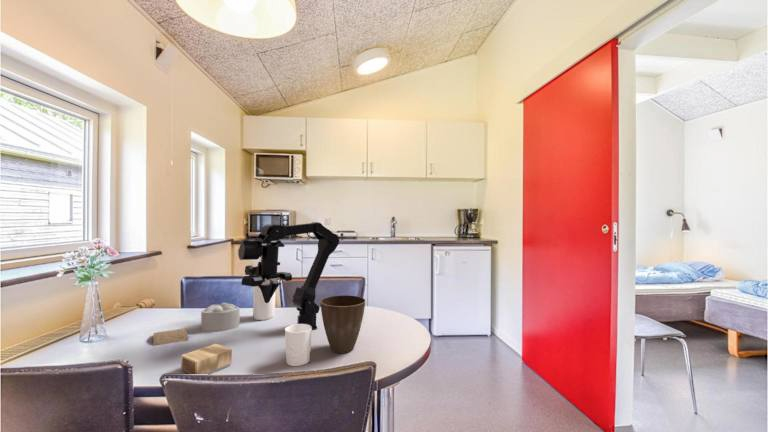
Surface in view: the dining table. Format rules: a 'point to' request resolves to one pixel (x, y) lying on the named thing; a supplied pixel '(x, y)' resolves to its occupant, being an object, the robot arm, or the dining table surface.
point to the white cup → (298, 344)
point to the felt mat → (218, 369)
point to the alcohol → (262, 305)
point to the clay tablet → (170, 336)
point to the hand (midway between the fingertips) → (266, 302)
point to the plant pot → (342, 321)
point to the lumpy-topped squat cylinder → (220, 317)
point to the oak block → (206, 359)
